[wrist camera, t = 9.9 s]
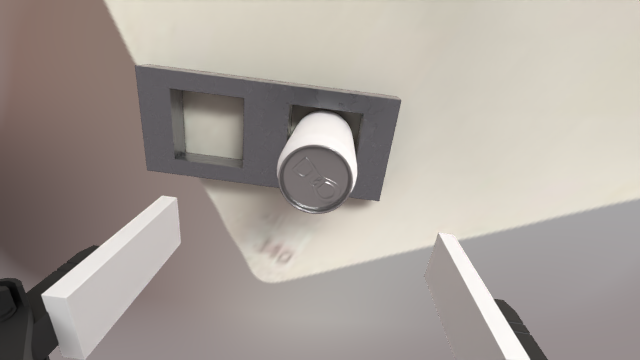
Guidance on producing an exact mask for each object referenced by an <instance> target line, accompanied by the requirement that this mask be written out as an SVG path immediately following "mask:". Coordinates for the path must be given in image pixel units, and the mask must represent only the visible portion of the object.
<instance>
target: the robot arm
mask: <svg viewBox="0 0 640 360" xmlns="http://www.w3.org/2000/svg"><path fill="white" fill-rule="evenodd" d="M180 244H181V237H180V225H179V213H178V201H177V198H176V197H168V196H161V197H160V198H159V199H157V200H156V201H155V202H154V203H153V204H151V205H150V206H149V207H148V208H146V209H145V210H144V211H143V212H141V213H140V214H139V215H138V216H137V217H135V218H134V219H133V220H132V221H131V222H129V223H128V224H127V225H126V226H124V228H122V229H121V230H120V231H118V232H117V233H116V234H115V235H113V236H112V237H111V238H110V239H109V240H108V241H106V242H105V243H104V244H103V245H101V246H94V245H93V246H91V247H89V248H87V249H85V250H83V251H81V252H79V253H77V254H76V255H75V256H74V257H72V258H71V259H70V260H68V261H67V263H65V264H63V265H62V266H61V267H59V268H58V269H57V271H54V272H53V273H52V274H50V275H49V276H48V277H46V278H45V279H44V280H43V281H41V282H40V283H39V284H37V285H36V286H35V287H33V288H32V289H31V290H30V291H28V292H27V293H25V290H24V288H23V285H22V282H21V281H20V280H18V279H15V278H4V279H0V360H50V359H49V356H48V355H49V354H50V353H51V352H52V351H53V350H54V349H55V348H56V346H59V349H60V352H61V355H62V357H66V358H73V359H81V360H85V359H86V358H87V357H88V356H89V354H90V353H91V352H92V351H93V349H94V348H95V347H96V346H97V345H98V343H99V342H100V341H101V340H102V338H103V337H104V336H105V335H106V334H107V332H108V331H109V330H110V329H111V328H112V326H113V325H114V324H115V323H116V321H117V320H118V319H119V318H120V317H121V315H122V314H123V313H124V312H125V311H126V309H127V308H128V307H129V306H130V304H131V303H132V302H133V301H134V300H135V298H136V297H137V296H138V295H139V294H140V292H141V291H142V290H143V289H144V287H145V286H146V285H147V284H148V283H149V281H150V280H151V279H152V278H153V277H154V275H155V274H156V273H157V272H158V270H159V269H160V268H161V267H162V266H163V264H164V263H165V262H166V261H167V259H168V258H169V257H170V256H171V254H172V253H173V252H174V251H175V250H176V249H177V247H178V246H179V245H180ZM424 277H425V279H426V282H427V285H428V288H429V290H430V293H431V296H432V298H433V301H434V304H435V307H436V309H437V312H438V314H439V317H440V320H441V323H442V325H443V328H444V331H445V333H446V336H447V339H448V342H449V344H450V347H451V350H452V352H453V355H454V358H455V360H548V359H547V358H546V356H545V355H544V354H543V352H542V350H541V349H540V348H539V346H538V344H537V343H536V342H535V341H534V338H533V337H532V336H531V335H530V332H529V331H528V330H527V328H526V327H525V325H523V322H522V321H521V319H520V318H519V316H518V315H517V313H516V312H515V310H513V309H512V308H511V307H510V306H509V305H508V304H507V303H506V302H505V301H504V300H498V299H493V298H492V296H491V295H490V293H489V291H488V290H487V288H486V286H485V285H484V283H483V282H482V280H481V278H480V277H479V275H478V273H477V272H476V270H475V269H474V267H473V265H472V264H471V262H470V260H469V259H468V257H467V255H466V254H465V252H464V251H463V249H462V247H461V246H460V245H459V242H458V241H457V239H456V237H455V236H454V235H452V234H445V233H438V235H437V239H436V242H435V245H434V248H433V251H432V254H431V257H430V260H429V263H428V266H427V269H426V272H425V275H424Z"/></svg>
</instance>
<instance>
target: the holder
mask: <svg viewBox="0 0 640 360" xmlns="http://www.w3.org/2000/svg"><path fill="white" fill-rule="evenodd" d="M135 71H136V79H137V87H138V96H139V104H140V113H141V121H142V130H143V138H144V147H145V155H146V164H147V170H149V171H157V172H164V173H172V174H179V175H187V176H194V177H202V178H209V179H217V180H224V181H232V182H239V183H247V184H254V185H262V186H269V187H277V188H280V187H279V183H278V176H277V165H278V160H279V157H280V155H281V153H282V151H283V149H284V147H285V145H286V144H287V142H288V140H289V138H290V130H291V117H292V105H301V106H309V107H316V108H324V109H332V110H339V111H347V112H355V113H362V117H361V123H360V129H359V134H358V140H357V146H356V152H355V155H356V162H357V179H356V183H355V186H354V188H353V190H352V191H351V193H350V195H349V197H352V198H359V199H367V200H374V201H379V199H380V195H381V190H382V186H383V181H384V177H385V172H386V168H387V163H388V158H389V154H390V149H391V145H392V140H393V136H394V131H395V127H396V122H397V118H398V113H399V109H400V104H401V99H399V98H398V97H396V96H389V95H381V94H373V93H366V92H358V91H350V90H343V89H335V88H327V87H319V86H312V85H304V84H296V83H289V82H281V81H273V80H266V79H258V78H250V77H243V76H235V75H227V74H219V73H212V72H204V71H196V70H189V69H181V68H173V67H166V66H158V65H150V64H149V65H135ZM182 90H186V91H194V92H201V93H209V94H217V95H224V96H232V97H240V98H244V137H243V160H240V159H232V158H225V157H217V156H209V155H202V154H194V153H187V152H186V149H185V133H184V117H183V100H182Z"/></svg>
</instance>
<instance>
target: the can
mask: <svg viewBox="0 0 640 360" xmlns="http://www.w3.org/2000/svg"><path fill="white" fill-rule="evenodd" d="M277 176H278V183H279V187H280V190H281V192H282V194H283V196H284V198H285V199H286V200H287V201H288V202H289V203H290V204H291V205H292V206H294V207H295V208H297V209H299V210H301V211H303V212H307V213H312V214H322V213H327V212H330V211H333V210H335V209H336V208H338V207H339V206H341V205H342V204H343V203H344V202H345V201H346V200H347V198H348V197H349V195H350V193H351V191H352V190H353V188H354V186H355V183H356V179H357V162H356V155H355V149H354V142H353V137H352V132H351V129H350V127H349V125H348V123H347V122H346V121H345V120H344V119H343V118H342V117H341V116H339V115H338V114H336V113H334V112H331V111H315V112H312V113H310V114H308V115H307V116H305V117H304V118H303V119H302V120H301V121H300V122H299V124H298V125H297V127H296V128H295V130H294V132H293V133H292V135H291V137H290V138H289V140H288V142H287V144H286V145H285V147H284V149H283V151H282V153H281V155H280V157H279V160H278V165H277Z"/></svg>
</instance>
